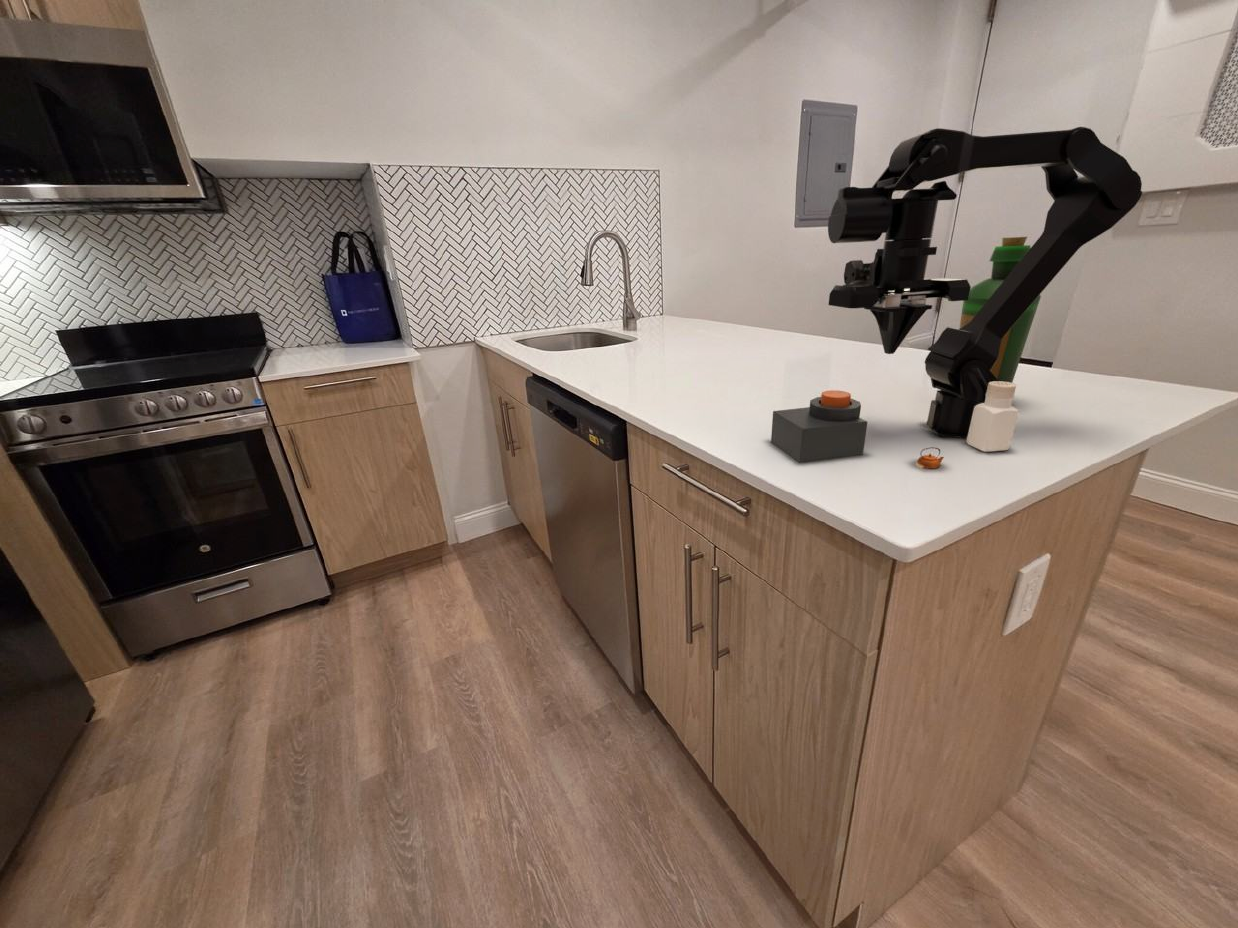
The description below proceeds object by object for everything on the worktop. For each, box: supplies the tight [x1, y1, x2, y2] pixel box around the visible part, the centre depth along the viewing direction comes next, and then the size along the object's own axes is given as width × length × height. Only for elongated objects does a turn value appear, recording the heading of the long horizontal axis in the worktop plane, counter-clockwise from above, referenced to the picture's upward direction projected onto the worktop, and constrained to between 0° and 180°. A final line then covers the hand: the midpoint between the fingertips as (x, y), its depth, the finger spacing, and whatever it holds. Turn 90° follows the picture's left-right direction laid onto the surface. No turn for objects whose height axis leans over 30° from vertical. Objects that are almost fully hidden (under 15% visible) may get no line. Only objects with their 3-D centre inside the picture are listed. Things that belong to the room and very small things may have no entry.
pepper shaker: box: [966, 381, 1019, 453], centre depth 72 cm, size 4×4×10 cm
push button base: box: [770, 396, 868, 464], centre depth 75 cm, size 11×9×7 cm
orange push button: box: [820, 389, 852, 407], centre depth 74 cm, size 4×4×2 cm
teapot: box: [915, 446, 945, 470], centre depth 68 cm, size 3×3×3 cm
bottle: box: [958, 236, 1042, 383], centre depth 88 cm, size 11×11×28 cm
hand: (889, 353), depth 75 cm, fingers closed
